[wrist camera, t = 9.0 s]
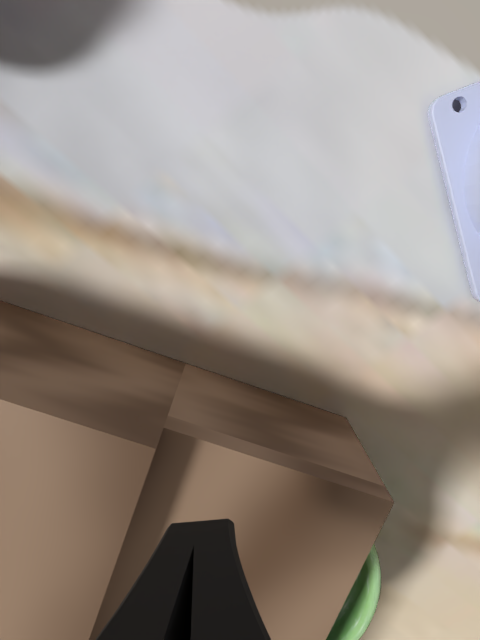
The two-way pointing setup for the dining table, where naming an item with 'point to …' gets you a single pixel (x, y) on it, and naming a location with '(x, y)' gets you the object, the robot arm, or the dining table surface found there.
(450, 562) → the dining table surface
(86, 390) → the walnut shelf
